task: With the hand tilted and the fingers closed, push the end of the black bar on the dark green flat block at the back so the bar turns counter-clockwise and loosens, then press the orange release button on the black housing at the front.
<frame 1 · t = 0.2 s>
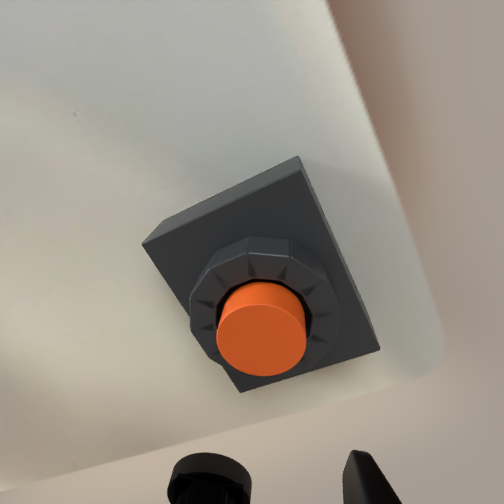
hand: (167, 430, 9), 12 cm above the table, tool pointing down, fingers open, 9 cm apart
release button: (262, 328, 15), point 5 cm above the table, slide at 0.1 cm
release: (268, 268, 20), on the table
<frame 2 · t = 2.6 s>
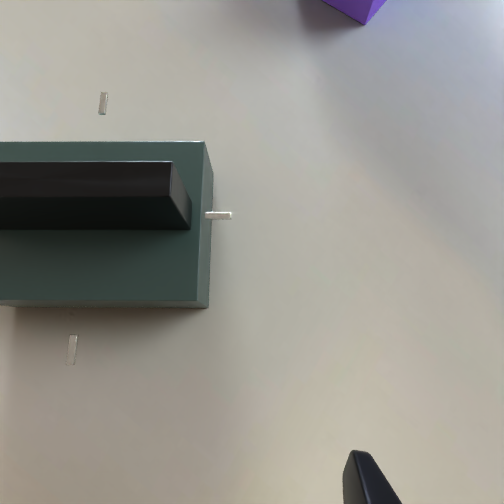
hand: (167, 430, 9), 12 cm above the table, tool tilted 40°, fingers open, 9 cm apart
dark green flat block: (118, 237, 23), on the table
black bar: (65, 198, 17), point 6 cm above the table, hinge at 0.0°
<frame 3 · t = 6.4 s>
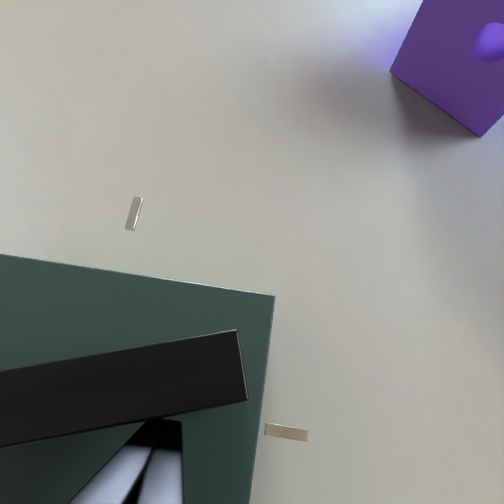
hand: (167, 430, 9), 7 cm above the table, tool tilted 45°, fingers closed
dark green flat block: (120, 393, 16), on the table
black bar: (43, 403, 10), point 6 cm above the table, hinge at 18.5°, touching gripper
bracket: (485, 56, 23), on the table
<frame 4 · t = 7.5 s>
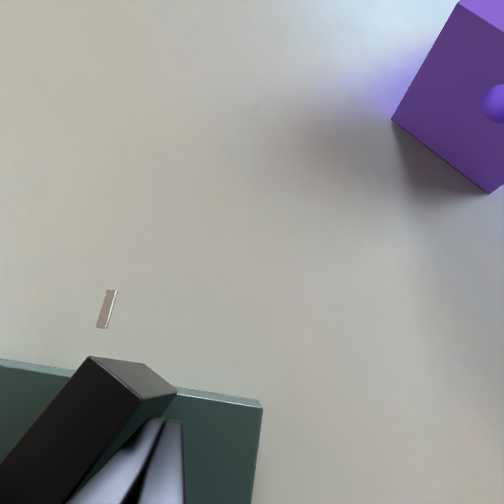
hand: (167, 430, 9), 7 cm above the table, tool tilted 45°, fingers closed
dark green flat block: (95, 496, 14), on the table
bracket: (494, 100, 22), on the table
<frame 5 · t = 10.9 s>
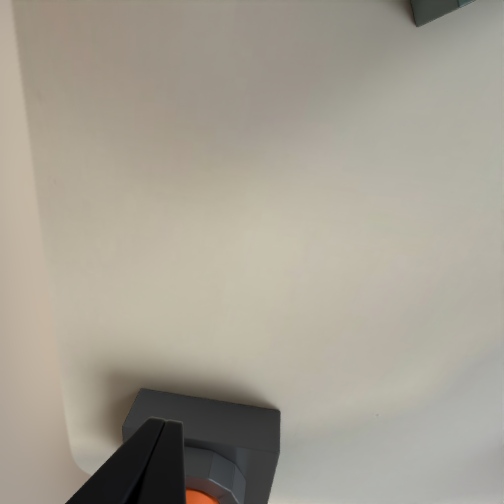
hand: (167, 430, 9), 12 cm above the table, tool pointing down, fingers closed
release: (206, 437, 27), on the table
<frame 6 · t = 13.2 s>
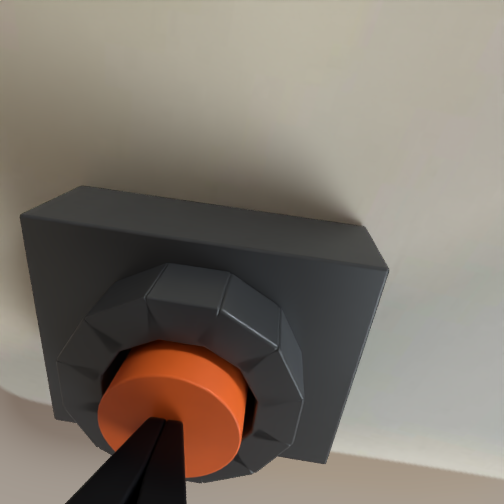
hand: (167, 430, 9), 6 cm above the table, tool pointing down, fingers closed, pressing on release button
release button: (178, 402, 9), point 5 cm above the table, slide at -0.4 cm, touching gripper
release: (213, 301, 14), on the table
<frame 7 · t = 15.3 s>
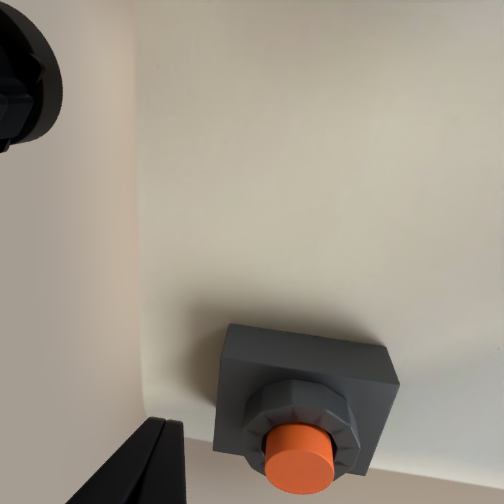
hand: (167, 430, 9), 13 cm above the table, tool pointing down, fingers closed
release button: (298, 457, 19), point 5 cm above the table, slide at 0.1 cm
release: (297, 381, 24), on the table
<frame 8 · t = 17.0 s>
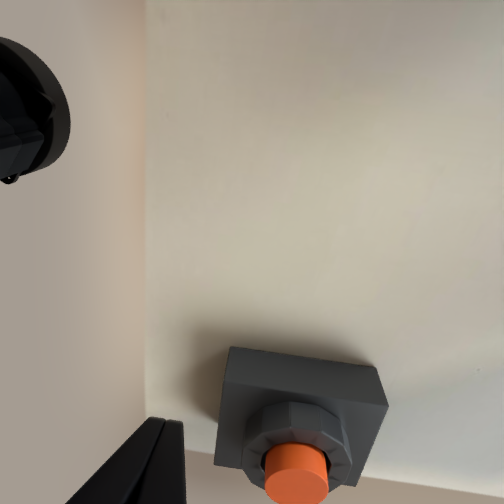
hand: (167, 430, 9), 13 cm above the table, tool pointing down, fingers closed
release button: (295, 473, 21), point 5 cm above the table, slide at 0.1 cm
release: (293, 398, 26), on the table
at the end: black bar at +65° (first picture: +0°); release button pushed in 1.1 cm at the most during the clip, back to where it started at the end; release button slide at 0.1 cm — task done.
